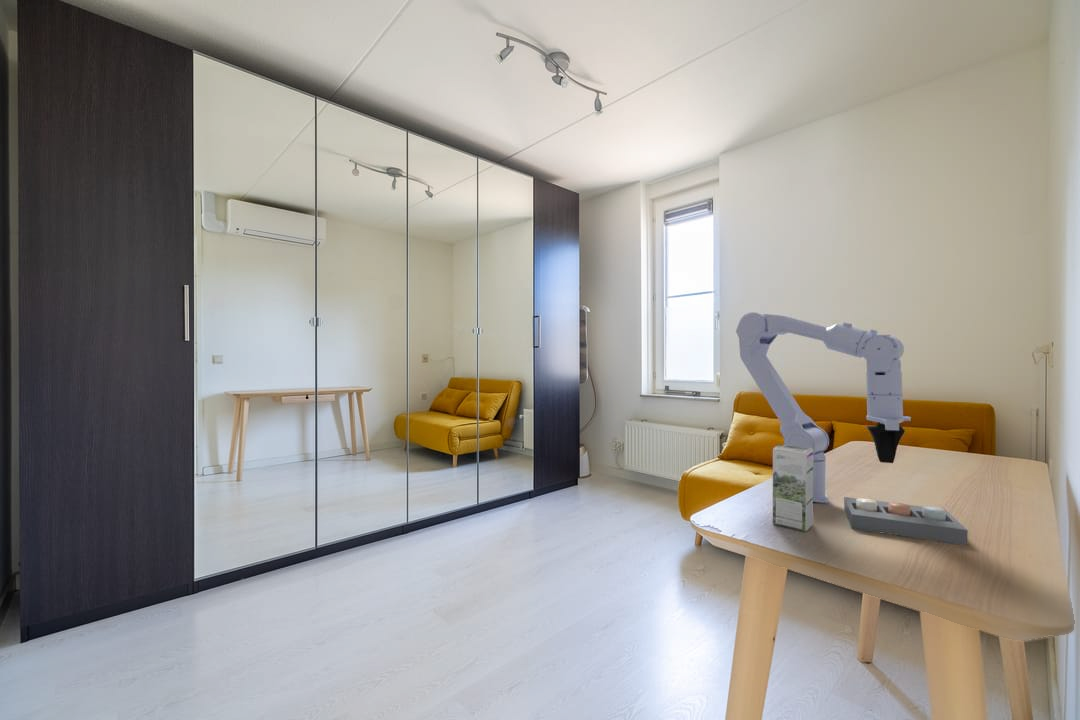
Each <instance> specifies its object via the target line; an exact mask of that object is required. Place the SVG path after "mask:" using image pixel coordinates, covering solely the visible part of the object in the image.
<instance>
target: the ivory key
mask: <svg viewBox="0 0 1080 720" xmlns="http://www.w3.org/2000/svg"><path fill="white" fill-rule="evenodd" d="M876 501H877V500H873V499H869V498H863V497H862V498H857V499H856V509H858V510H866V511H874V512H877V502H876Z"/></svg>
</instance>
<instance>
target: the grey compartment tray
mask: <svg viewBox="0 0 1080 720" xmlns="http://www.w3.org/2000/svg"><path fill="white" fill-rule="evenodd" d="M856 499H858V498H856V497H848V496H844V498H843V500H844V501H843V503H844V505H843V509H844V512H845V515H846V518H847V520H848V523H849V525H850V528H851V529H852V530H853V529H854V530H859V531H860V530H861V531H866V532H867V531H868V532H873V531H874V533H879V532H883V533H882V534H886V533H891V534H890V535H893V534H897V535H896V536H899V535H904V536H903V537H906V536H909V537H908V538H913V537H914V539H919V538H920V539H921V540H926V541H933V542H941V543H947V544H955V545H960V546H967V547H968V534H969V533H968V529H967V528H966V527H965V526H964V525H963V524H961V522H960V521H959V520H957V519H956V518H955V517H954V516H953V515H952V514H951V513H950V512H948V510H946V509H945V508H942V509H943V510H945V511H946V521H941V520H934V519H926V518H922V507H923V506H921V505H913V504H908V505H909V506H910V516H904V515H896V514H889V513H888V503H889V501H881V500H875V501H876V502H877V512H874V511H866V510H858V509H856Z"/></svg>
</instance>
